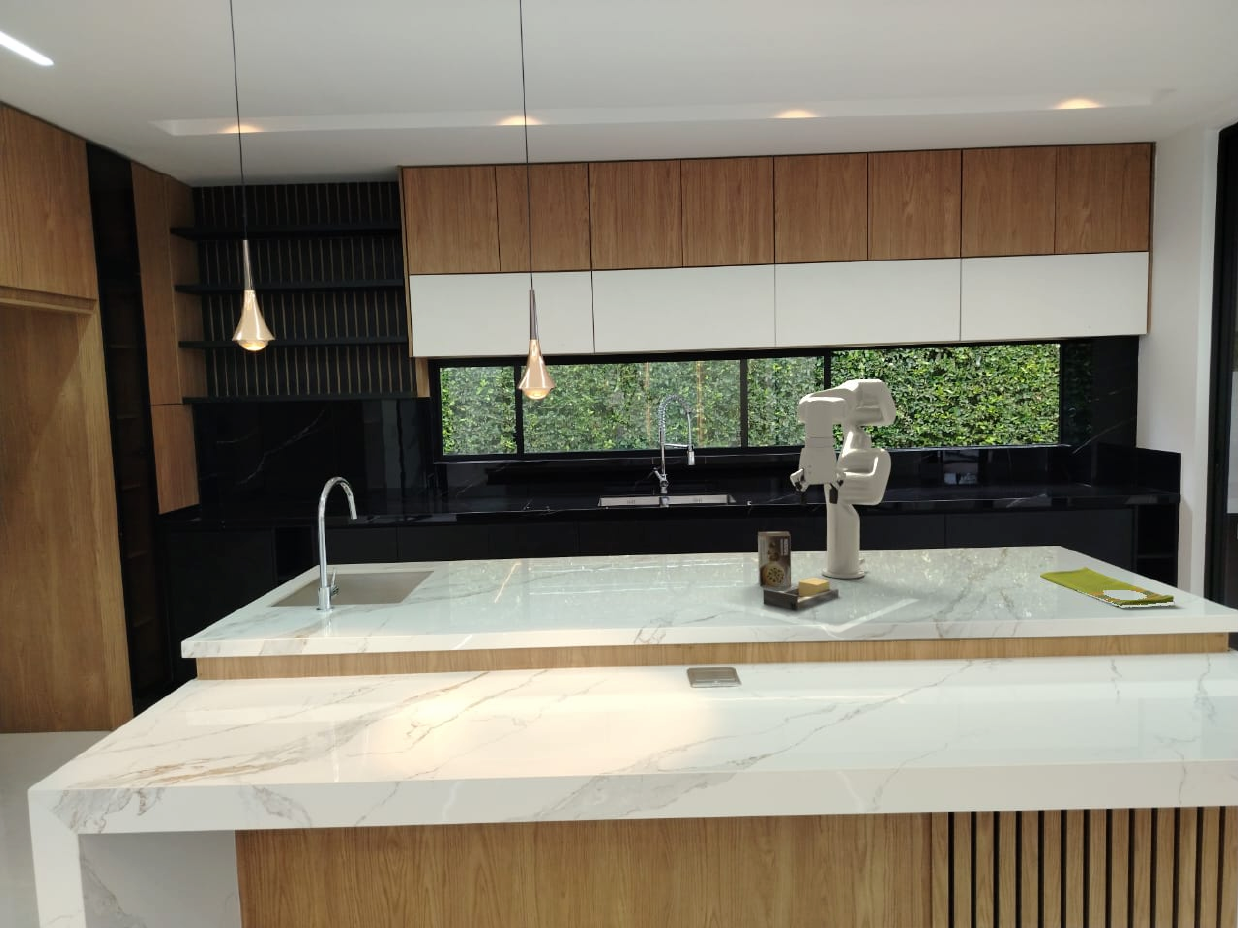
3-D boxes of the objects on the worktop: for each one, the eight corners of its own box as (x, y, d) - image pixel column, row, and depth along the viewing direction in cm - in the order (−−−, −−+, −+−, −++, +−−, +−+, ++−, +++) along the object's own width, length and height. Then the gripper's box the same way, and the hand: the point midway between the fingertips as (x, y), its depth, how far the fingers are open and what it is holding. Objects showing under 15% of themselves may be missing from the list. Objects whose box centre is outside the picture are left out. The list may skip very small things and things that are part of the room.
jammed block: (810, 591, 240) (810, 577, 239) (829, 595, 235) (829, 580, 235) (798, 595, 236) (798, 581, 235) (817, 599, 231) (817, 584, 231)
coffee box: (789, 585, 253) (789, 531, 251) (791, 590, 246) (791, 535, 245) (757, 585, 254) (757, 531, 252) (759, 590, 247) (759, 535, 245)
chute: (800, 592, 243) (800, 574, 243) (844, 601, 233) (844, 582, 233) (757, 607, 230) (757, 588, 229) (802, 617, 220) (802, 597, 219)
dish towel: (1121, 611, 221) (1121, 599, 220) (1038, 578, 256) (1038, 568, 256) (1176, 608, 222) (1177, 596, 222) (1086, 576, 258) (1087, 565, 257)
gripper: (838, 441, 246) (837, 501, 247) (784, 443, 240) (784, 504, 242) (853, 443, 239) (852, 504, 240) (798, 445, 233) (797, 507, 235)
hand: (818, 504), depth 241 cm, fingers open, 9 cm apart
